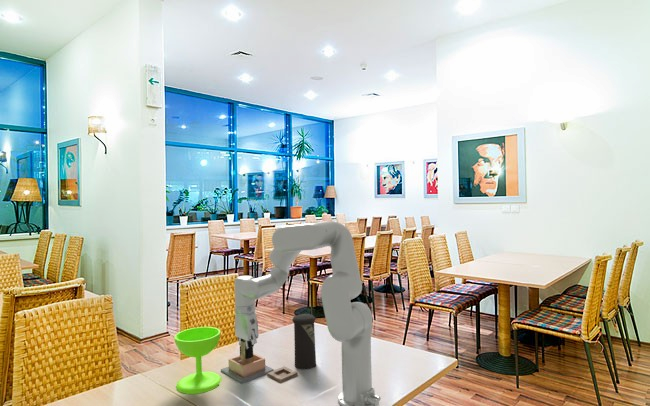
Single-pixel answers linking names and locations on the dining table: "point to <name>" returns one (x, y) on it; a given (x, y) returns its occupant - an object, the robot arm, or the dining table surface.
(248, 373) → the grey base square tray
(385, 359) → the dining table surface
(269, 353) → the dining table surface
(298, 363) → the container
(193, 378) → the wineglass
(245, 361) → the tan wooden bar
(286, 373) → the brown square tray
